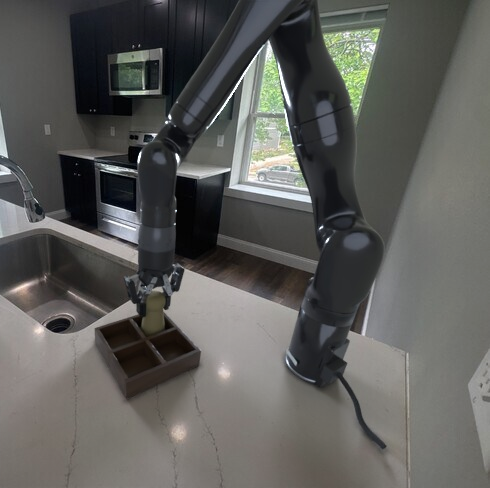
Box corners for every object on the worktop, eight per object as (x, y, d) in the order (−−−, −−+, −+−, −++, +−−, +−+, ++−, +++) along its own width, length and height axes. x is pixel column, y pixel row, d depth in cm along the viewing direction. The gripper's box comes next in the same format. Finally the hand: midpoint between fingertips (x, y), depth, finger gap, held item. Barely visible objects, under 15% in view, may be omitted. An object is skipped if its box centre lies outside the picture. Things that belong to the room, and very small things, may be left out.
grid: (199, 365, 62) (201, 350, 61) (126, 399, 54) (126, 383, 53) (159, 320, 75) (159, 307, 74) (95, 342, 67) (94, 328, 66)
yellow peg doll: (162, 345, 66) (164, 303, 62) (136, 340, 67) (137, 299, 63) (167, 327, 72) (170, 289, 67) (143, 323, 73) (144, 285, 68)
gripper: (132, 256, 54) (132, 331, 61) (196, 243, 61) (189, 311, 68) (116, 242, 60) (117, 311, 66) (176, 231, 67) (171, 295, 74)
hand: (153, 311), depth 67 cm, fingers open, 5 cm apart
